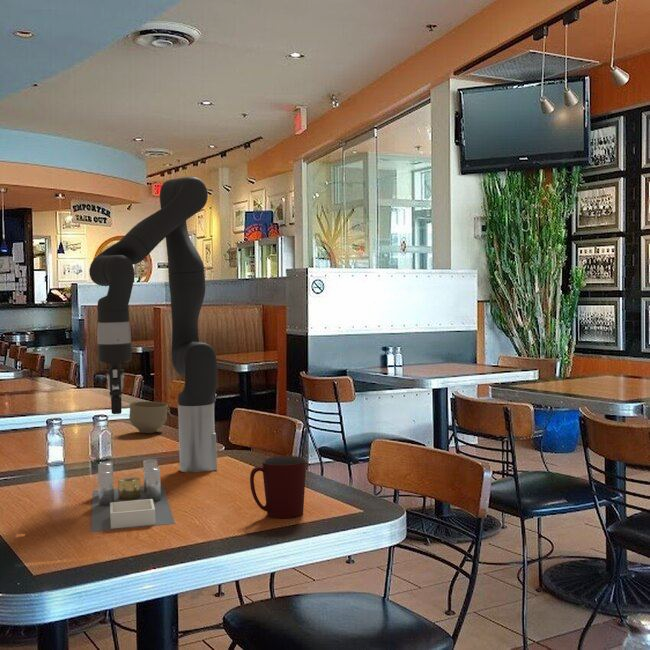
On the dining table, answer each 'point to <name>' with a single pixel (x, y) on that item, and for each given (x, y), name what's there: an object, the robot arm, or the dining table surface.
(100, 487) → the spacers
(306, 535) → the dining table surface
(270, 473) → the mug
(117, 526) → the white square tray
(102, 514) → the mat
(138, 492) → the nut
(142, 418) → the bowl
